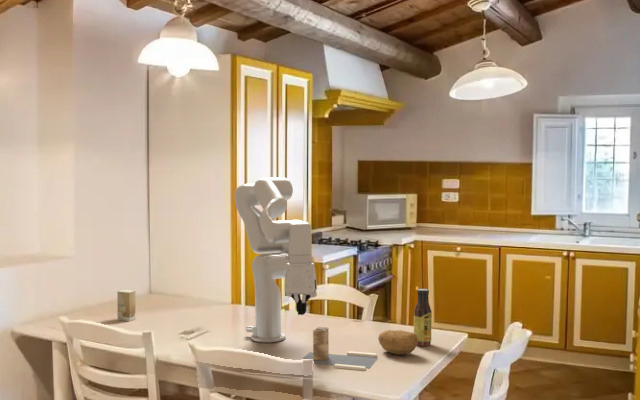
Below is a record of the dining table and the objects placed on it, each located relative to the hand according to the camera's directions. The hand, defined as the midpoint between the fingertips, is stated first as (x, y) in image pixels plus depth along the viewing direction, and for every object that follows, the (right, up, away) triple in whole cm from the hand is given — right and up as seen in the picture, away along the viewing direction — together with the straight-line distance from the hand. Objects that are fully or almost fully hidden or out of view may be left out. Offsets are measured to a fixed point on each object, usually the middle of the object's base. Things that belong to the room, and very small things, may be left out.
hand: (301, 314), depth 234 cm
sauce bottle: (+43, -14, +17) cm, 48 cm away
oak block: (+6, -15, -1) cm, 16 cm away
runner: (+12, -15, -3) cm, 20 cm away
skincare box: (-74, -12, +58) cm, 95 cm away
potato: (+33, -15, +5) cm, 36 cm away
